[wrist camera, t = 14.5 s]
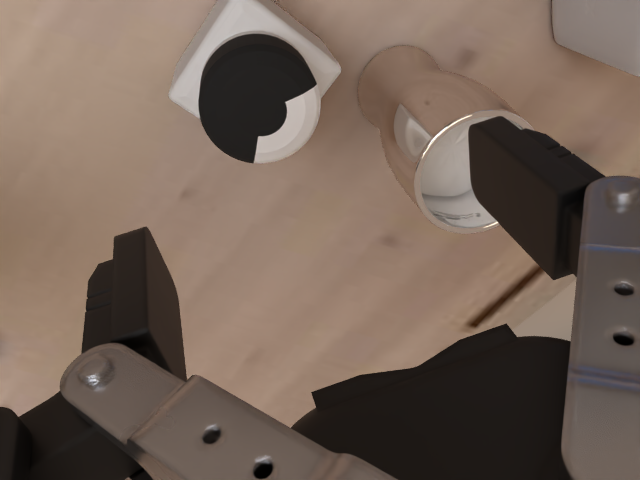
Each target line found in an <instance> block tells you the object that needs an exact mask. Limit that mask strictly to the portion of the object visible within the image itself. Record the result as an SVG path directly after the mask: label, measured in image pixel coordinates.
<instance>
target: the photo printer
mask: <svg viewBox="0 0 640 480" xmlns="http://www.w3.org/2000/svg"><path fill="white" fill-rule="evenodd" d="M552 25H553V34H554V39H555V42H556V43H558V44H559V45H561V46H564V47H566V48H568V49H571V50H573V51H575V52H578V53H580V54H583V55H585V56H587V57H590V58H592V59H595V60H597V61H600V62H602V63H605V64H607V65H610V66H612V67H614V68H617V69H619V70H622V71H625V72H627V73H630V74H632V75H635V76H638V77H640V0H552Z"/></svg>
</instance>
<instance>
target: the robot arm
mask: <svg viewBox="0 0 640 480" xmlns="http://www.w3.org/2000/svg"><path fill="white" fill-rule="evenodd" d="M468 143H469V163H470V181H471V186H472V190H473V192H474V195H475V197H476V199H477V200H478V202H479V203H480V204H481V205H482V206H483V207H484V208H485V209H486V210H487V212H488V213H489V214H490V215H491V216H492V217H493V218H494V219H495V220H496V221H497V222H498V223H499V224H500V225H501V226H502V227H503V228H504V229H505V230H506V231H507V232H508V233H509V234H510V236H511V237H512V238H513V239H514V240H515V241H516V242H517V243H518V244H519V245H520V246H521V247H522V248H523V249H524V250H525V251H526V252H527V253H528V254H529V255H530V256H531V257H532V258H533V260H534V261H535V262H536V263H537V264H538V265H539V266H540V267H541V268H542V269H543V270H544V271H545V272H546V273H547V274H548V275H549V276H550V277H551V278H552V279H553V280H556V279H558V278H561V277H564V276H567V275H570V274H574V275H575V276H576V277H577V281H576V292H575V302H574V314H573V325H572V334H571V341H567V340H563V339H558V338H551V337H541V336H540V337H539V336H527V337H526V336H525V337H516V335H515V334H514V333H513V331H512V330H511V329H510V328H509V326H508V325H507V324H504V325H501V326H498V327H495V328H492V329H489V330H487V331H484V332H481V333H478V334H475V335H472V336H470V337H467V338H464V339H461V340H459V341H457V342H456V343H454V344H453V345H451V346H449V347H448V348H446V349H445V350H443V351H442V352H440V353H438V354H437V355H435V356H434V357H432V358H430V359H429V360H427V361H426V362H424V363H423V364H421V365H419V366H417V367H414V368H409V369H402V370H394V371H387V372H379V373H372V374H364V375H359V376H356V377H353V378H351V379H348V380H345V381H342V382H339V383H336V384H334V385H331V386H328V387H325V388H322V389H319V390H317V391H314V392H311V393H312V396H313V399H314V402H315V405H316V408H315V409H313V410H312V411H310V412H309V413H307V414H306V415H305V416H303V417H302V418H301V419H300V420H298V421H297V422H296V423H295V424H294V425H293V426H292V427H291V428H289V427H288V426H286V425H284V424H283V423H281V422H279V421H277V420H276V419H274V418H272V417H270V416H269V415H267V414H265V413H264V412H262V411H260V410H258V409H257V408H255V407H253V406H252V405H250V404H248V403H246V402H245V401H243V400H241V399H239V398H238V397H236V396H234V395H233V394H231V393H229V392H227V391H226V390H224V389H222V388H220V387H219V386H217V385H215V384H214V383H212V382H210V381H208V380H207V379H205V378H203V377H201V376H198V375H192V376H191V377H190V378H189V379H188V380H187V377H186V367H185V357H184V348H183V338H182V328H181V318H180V309H179V300H178V295H177V291H176V288H175V285H174V282H173V279H172V277H171V275H170V273H169V270H168V268H167V266H166V264H165V262H164V260H163V258H162V256H161V253H160V251H159V249H158V247H157V245H156V243H155V241H154V239H153V236H152V234H151V232H150V231H149V229H148V228H147V227H143V228H140V229H137V230H133V231H130V232H127V233H124V234H121V235H118V236H115V237H114V249H113V260H109V261H106V262H103V263H100V264H98V266H97V268H96V269H95V271H94V272H93V274H92V276H91V277H90V279H89V281H88V291H87V297H88V299H87V301H86V311H87V312H85V322H84V332H83V342H82V353H81V355H80V356H78V357H77V358H76V359H75V360H74V361H73V362H72V363H71V364H70V365H69V366H68V367H67V369H66V370H65V372H64V374H63V376H62V378H61V381H60V391H59V392H58V393H57V394H55V395H54V396H53V397H51V398H50V399H48V400H47V401H45V402H43V403H42V404H40V405H38V406H36V407H35V408H33V409H31V410H30V411H28V412H26V413H25V414H23V415H21V416H20V417H18V416H17V415H16V414H15V413H14V412H13V411H12V410H11V409H9V408H5V407H0V480H640V179H639V178H636V177H630V176H609V177H605V176H604V175H603V174H601V173H600V172H598V171H597V170H596V169H594V168H593V167H591V166H590V165H589V164H587V163H586V162H584V161H583V160H581V159H580V158H579V157H577V156H576V155H574V154H571V152H570V151H569V150H567V149H566V148H565V147H563V146H561V147H560V144H559V143H558V142H556V141H555V140H553V139H552V138H551V137H549V136H548V135H546V134H543V133H540V132H537V131H534V130H530V129H527V128H525V129H522V130H521V129H519V128H518V127H517V126H515V125H514V124H513V123H511V122H510V121H509V120H507V119H506V118H504V117H503V116H497V117H494V118H491V119H488V120H485V121H481V122H478V123H475V124H472V125H471V126H470V127H469V130H468Z"/></svg>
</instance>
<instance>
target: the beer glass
mask: <svg viewBox="0 0 640 480" xmlns="http://www.w3.org/2000/svg"><path fill="white" fill-rule="evenodd" d="M358 101H359V105H360V108H361V111H362V113H363V114H364V116H365V117H366V119H367V120H368V121H369V122H370V123H371V124H372V125H374V126H375V127H377V128H378V129H379V131H380V137H381V142H382V147H383V150H384V153H385V157H386V160H387V162H388V165H389V167H390V169H391V171H392V172H393V174H394V176H395V178H396V180H397V181H398V183H399V184H400V185H401V187H402V188H403V190H404V191H405V192H406V194H407V195H408V196H409V197H410V198H411V200H412V201H413V202H414V203H415V204H416V205H417V206H418V207H419V209H420V210H421V212H422V213H423V214H424V216H425V217H426V218H427V219H428V220H429V221H430V222H431V223H433V224H434V225H436V226H437V227H439V228H441V229H443V230H446V231H449V232H453V233H459V234H472V233H479V232H483V231H487V230H490V229H492V228H495V227H497V226H499V225H500V224H499V223H498V222H497V221H496V220H495V219H494V218H493V217H492V216H491V215H490V214H489V213H488V212H487V210H486V209H485V208H484V207H483V206H482V205H481V204H480V203H479V202H478V200H477V199H476V197H475V195H474V192H473V190H472V186H471V181H470V163H469V143H468V130H469V127H470V126H471V125H472V124H475V123H478V122H481V121H485V120H488V119H491V118H494V117H497V116H503V117H504V118H506V119H507V120H509V121H510V122H511V123H513V124H514V125H515V126H517V127H518V128H519V129H521V130H522V129H525V128H527V129H530V130H534V128H533V127H532V126H531V125H530V124H529V123H528V122H527V121H526V120H524V119H523V118H522V117H521V116H520V115H519V114H518V113H517V112H516V111H515V110H514V109H513V108H512V107H511V106H510V105H509V104H508V103H507V102H506V101H505V100H503V99H502V98H501V97H500V96H498V95H497V94H496V93H495V92H493V91H492V90H491V89H489V88H487V87H486V86H484V85H483V84H481V83H479V82H477V81H476V80H473V79H471V78H468V77H465V76H463V75H460V74H456V73H452V72H448V71H443V70H440V68H439V66H438V64H437V63H436V62H435V60H434V59H433V58H432V57H431V56H430V55H429V54H428V53H427V52H425V51H424V50H422V49H420V48H417V47H414V46H408V45H401V46H394V47H391V48H388V49H386V50H384V51H382V52H380V53H379V54H377V55H376V56H375V57H374V58H373V59H372V60H371V61H370V62H369V63H368V64H367V66H366V67H365V69H364V70H363V72H362V74H361V77H360V80H359V84H358ZM534 131H535V130H534Z"/></svg>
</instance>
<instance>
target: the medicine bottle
mask: <svg viewBox="0 0 640 480" xmlns="http://www.w3.org/2000/svg"><path fill="white" fill-rule="evenodd" d="M340 72H341V66H340V65H339V63H338V62H337V61H336V59H335V58H334V56H333V55H332V54H331V52H330V51H329V49H328V48H327V47H326V45H325V44H324V42H323V41H322V40H321V39H320V38H318V37H317V36H316V35H315V34H313V33H312V32H311V31H310V30H308V29H307V28H306V27H304V26H303V25H302V24H301V23H299V22H298V21H297V20H296V19H294V18H293V17H292V16H291V15H289V14H288V13H287V12H286V11H284V10H283V9H282V8H280V7H279V6H278V5H277V4H275V3H274V2H273V1H272V0H218V1H217V2H216V4H215V5H214V7H213V8H212V10H211V11H210V13H209V14H208V16H207V17H206V19H205V21H204V22H203V24H202V25H201V27H200V28H199V30H198V31H197V33H196V34H195V36H194V38H193V39H192V41H191V42H190V44H189V45H188V47H187V48H186V50H185V51H184V53H183V55H182V56H181V58H180V59H179V61H178V62H177V64H176V68H175V72H174V75H173V79H172V83H171V87H170V91H169V94H168V95H169V98H170V99H171V100H172V101H173V102H174V103H176V104H177V105H179V106H180V107H182V108H184V109H185V110H187V111H188V112H190V113H191V114H193V115H194V116H196V117H197V118H199V119H201V122H202V125H203V127H204V129H205V131H206V133H207V135H208V136H209V138H210V139H211V141H212V142H213V143H214V144H215V145H216V146H217V147H218V148H219V149H220V150H222V151H223V152H224V153H226V154H228V155H229V156H231V157H233V158H235V159H237V160H241V161H244V162H249V163H258V164H263V163H271V162H276V161H279V160H282V159H285V158H287V157H289V156H291V155H292V154H294V153H295V152H297V151H298V150H299V149H300V148H301V147H303V146H304V145H305V144H306V142H307V141H308V140H309V139H310V137H311V136H312V134H313V132H314V130H315V128H316V126H317V123H318V120H319V116H320V109H321V98H322V97H323V95H324V94H325V93H326V91H327V90H328V89H329V88H330V86H331V85H332V84H333V82H334V81H335V80H336V78H337V77H338V76H339V74H340Z"/></svg>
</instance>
